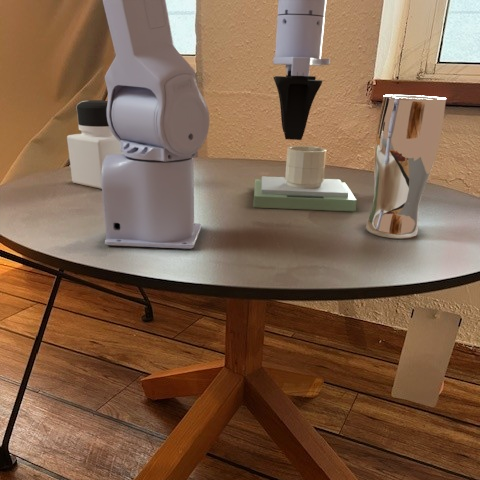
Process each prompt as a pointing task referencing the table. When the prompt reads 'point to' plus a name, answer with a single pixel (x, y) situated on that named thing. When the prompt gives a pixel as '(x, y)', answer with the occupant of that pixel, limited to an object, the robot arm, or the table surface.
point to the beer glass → (403, 161)
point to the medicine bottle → (91, 143)
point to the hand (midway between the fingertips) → (291, 135)
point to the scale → (303, 195)
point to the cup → (305, 166)
